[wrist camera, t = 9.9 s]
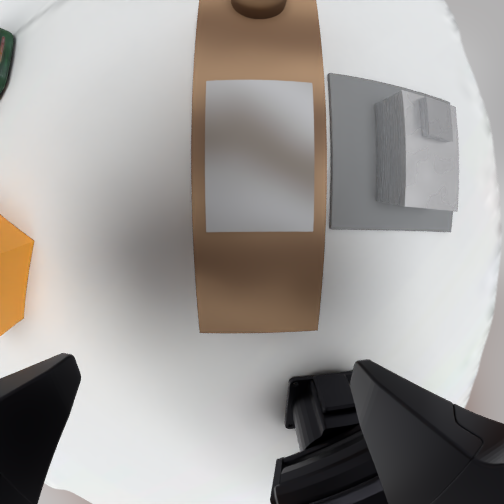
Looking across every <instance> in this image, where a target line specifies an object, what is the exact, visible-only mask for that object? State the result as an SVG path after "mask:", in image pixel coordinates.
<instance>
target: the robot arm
mask: <svg viewBox="0 0 504 504" xmlns="http://www.w3.org/2000/svg"><path fill="white" fill-rule="evenodd" d="M80 381H81V374H80V371H79V368H78V366H77V363H76V360H75V358H74V356H73V355H71V354H66V353H61V354H59V355H56V356H54V357H52V358H49V359H47V360H45V361H42V362H40V363H37V364H35V365H32V366H30V367H28V368H25V369H23V370H20V371H18V372H15V373H13V374H11V375H8V376H6V377H3V378H1V379H0V504H37V503H38V500H39V497H40V493H41V490H42V487H43V484H44V481H45V478H46V475H47V472H48V469H49V466H50V463H51V461H52V458H53V455H54V453H55V450H56V447H57V445H58V442H59V440H60V437H61V435H62V432H63V430H64V427H65V425H66V422H67V420H68V418H69V415H70V412H71V409H72V406H73V403H74V399H75V396H76V393H77V390H78V387H79V384H80ZM296 382H297V383H296ZM293 383H296V384H293ZM285 427H286V428H288V429H293V428H296V433H297V438H298V443H299V448H300V452H298V453H296V454H293V455H291V456H288V457H285V458H284V457H282V458H280V459H277V460H276V466H275V473H274V479H273V485H272V491H271V498H270V502H271V504H504V424H503V423H500V422H497V421H494V420H491V419H488V418H486V417H483V416H481V415H478V414H475V413H473V412H470V411H469V410H466V409H464V408H462V407H460V406H458V405H456V404H453V403H452V402H450V401H448V400H446V399H444V398H442V397H440V396H438V395H436V394H434V393H432V392H430V391H428V390H426V389H424V388H422V387H420V386H418V385H416V384H414V383H412V382H410V381H408V380H406V379H404V378H403V377H401V376H399V375H397V374H395V373H393V372H391V371H389V370H387V369H386V368H384V367H382V366H380V365H378V364H376V363H374V362H373V361H371V360H368V359H366V360H359V361H357V362H355V365H354V368H353V371H352V372H344V373H336V374H327V375H318V376H306V377H295V378H292V379H291V380H290V381H289V387H288V398H287V407H286V416H285Z"/></svg>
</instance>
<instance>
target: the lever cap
mask: <svg viewBox="0 0 504 504" xmlns="http://www.w3.org/2000/svg"><path fill="white" fill-rule="evenodd" d="M374 109H375V129H376V194H375V201H378V202H383V203H389V204H394V205H399V206H404V207H416V208H427V209H437V210H447V211H456V212H457V209H458V191H459V148H458V130H457V118H456V109H455V107H454V106H451V105H450V104H447V103H445V102H442V101H439V100H436V99H433V98H430V97H427V96H426V97H424V96H421V95H418V94H415V93H411V92H408V91H404V90H401V91H399V92H397V93H395V94H393V95H391V96H389V97H387V98H386V99H384V100H382V101H380V102H378V103H376V104H374Z"/></svg>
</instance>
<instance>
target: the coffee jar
mask: <svg viewBox="0 0 504 504" xmlns="http://www.w3.org/2000/svg"><path fill="white" fill-rule="evenodd" d="M13 42H14V41H13V35H12V34H11V33H10V32H8V31H6V30H4V29H1V28H0V93H1V92H2V91H3V89H4V87H5V84H6V81H7V76H8V72H9V67H10V62H11V57H12V50H13Z"/></svg>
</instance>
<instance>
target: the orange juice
mask: <svg viewBox="0 0 504 504" xmlns="http://www.w3.org/2000/svg"><path fill="white" fill-rule="evenodd" d="M33 245H34V240H32V239H31V238H30V237H28V236H27V235H26V234H24V233H23V232H22V231H20V230H19V229H18V228H17V227H15V226H14V225H13V224H11V223H10V222H9V221H8V220H6V219H5V218H4V217H3V216H1V215H0V336H1V335H2V334H4V333H5V332H6V331H8V330H9V329H10V328H11V327H13V326H14V325H15V324H17V323H18V322H19V321H21V320H22V319H23V318H24V307H25V297H26V288H27V280H28V273H29V267H30V261H31V255H32V250H33Z"/></svg>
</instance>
